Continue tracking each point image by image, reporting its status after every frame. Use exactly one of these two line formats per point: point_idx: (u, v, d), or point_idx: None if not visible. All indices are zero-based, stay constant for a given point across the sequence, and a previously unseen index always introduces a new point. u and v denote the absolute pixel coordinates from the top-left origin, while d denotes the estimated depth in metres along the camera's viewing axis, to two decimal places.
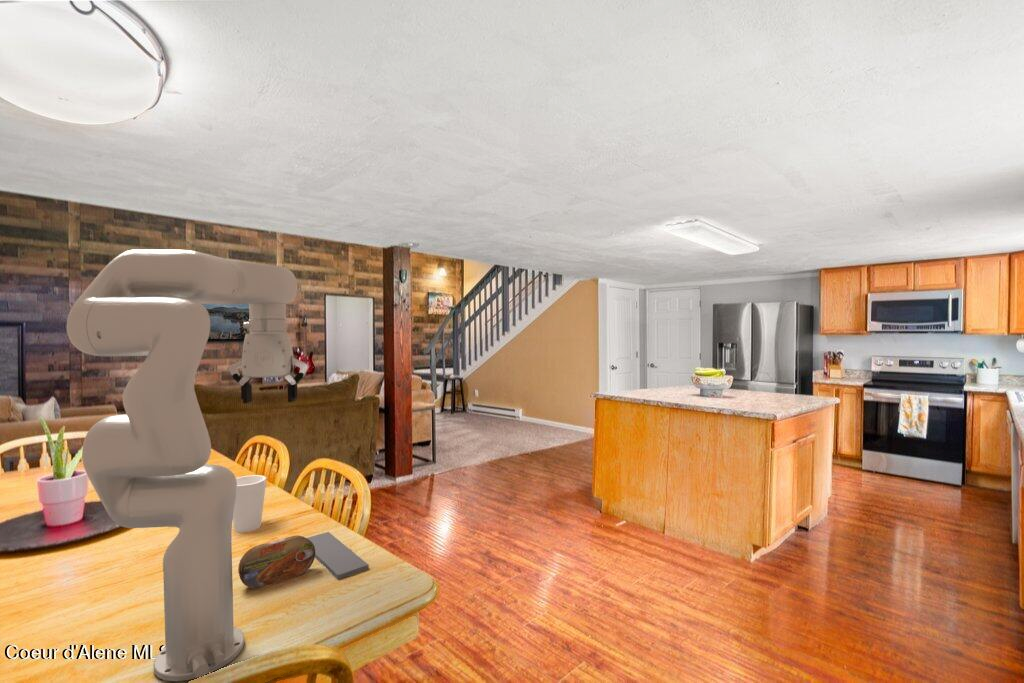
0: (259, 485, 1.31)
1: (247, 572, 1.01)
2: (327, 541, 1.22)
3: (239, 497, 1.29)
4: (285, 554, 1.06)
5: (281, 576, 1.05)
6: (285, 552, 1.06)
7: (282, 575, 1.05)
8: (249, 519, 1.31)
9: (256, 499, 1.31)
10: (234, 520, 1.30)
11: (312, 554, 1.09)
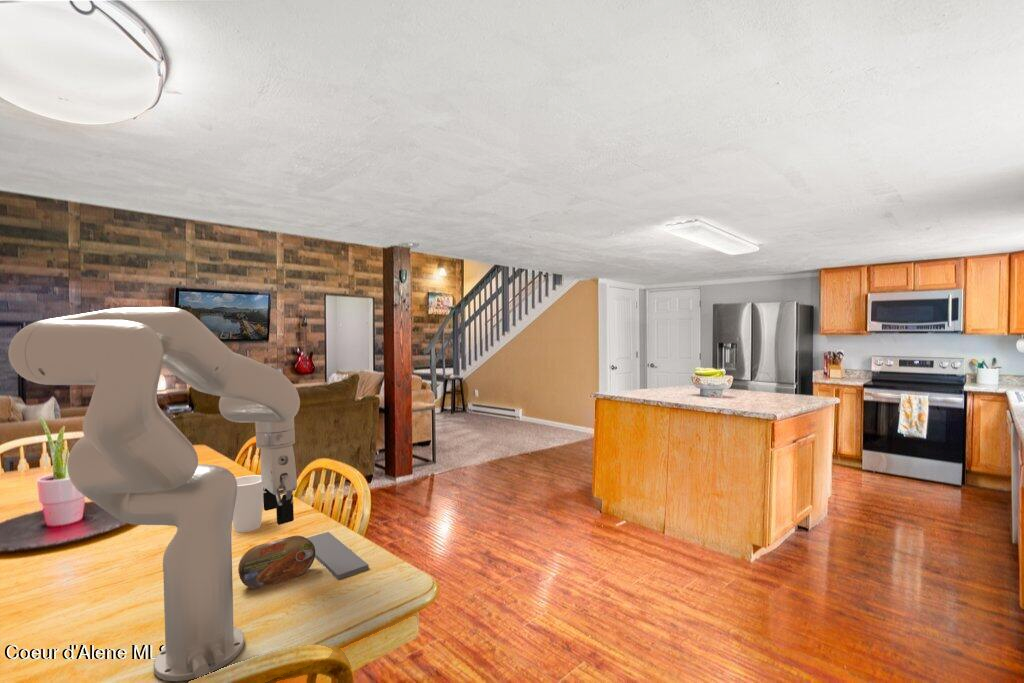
0: (259, 485, 1.31)
1: (247, 572, 1.01)
2: (327, 541, 1.22)
3: (239, 497, 1.29)
4: (285, 554, 1.06)
5: (281, 576, 1.05)
6: (285, 552, 1.06)
7: (282, 575, 1.05)
8: (249, 519, 1.31)
9: (256, 499, 1.31)
10: (234, 520, 1.30)
11: (312, 554, 1.09)
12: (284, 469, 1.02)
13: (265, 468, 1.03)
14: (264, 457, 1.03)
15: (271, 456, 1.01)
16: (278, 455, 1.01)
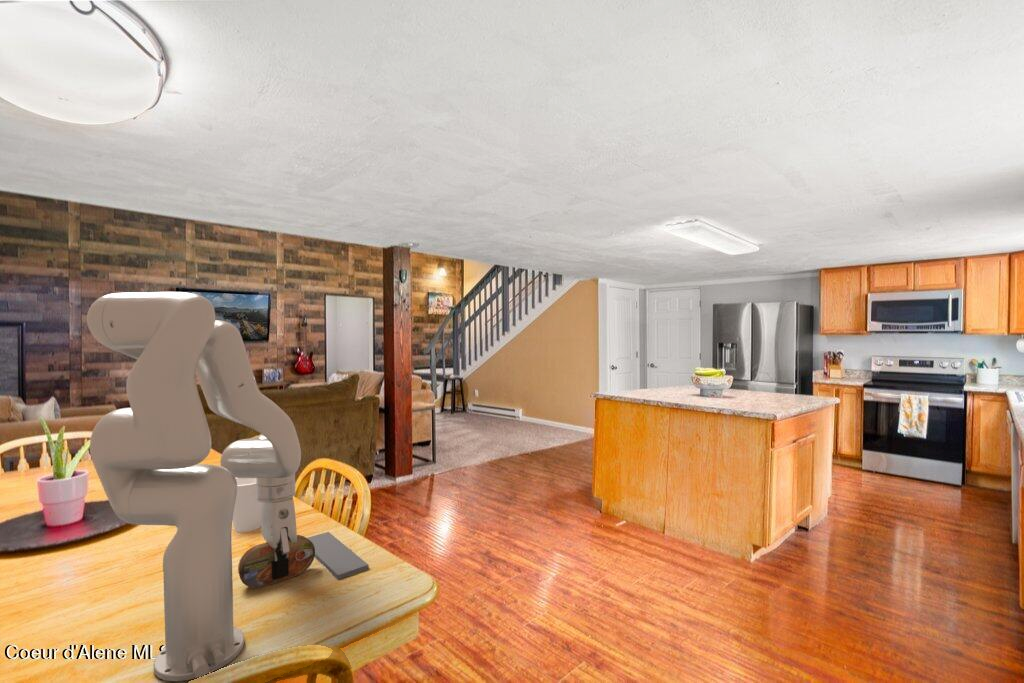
0: None
1: (247, 572, 1.01)
2: (327, 541, 1.22)
3: (239, 497, 1.29)
4: None
5: None
6: None
7: None
8: (249, 519, 1.31)
9: (256, 499, 1.31)
10: (234, 520, 1.30)
11: (312, 553, 1.09)
12: (284, 523, 1.02)
13: (265, 521, 1.03)
14: (264, 510, 1.03)
15: (271, 510, 1.01)
16: (278, 509, 1.01)
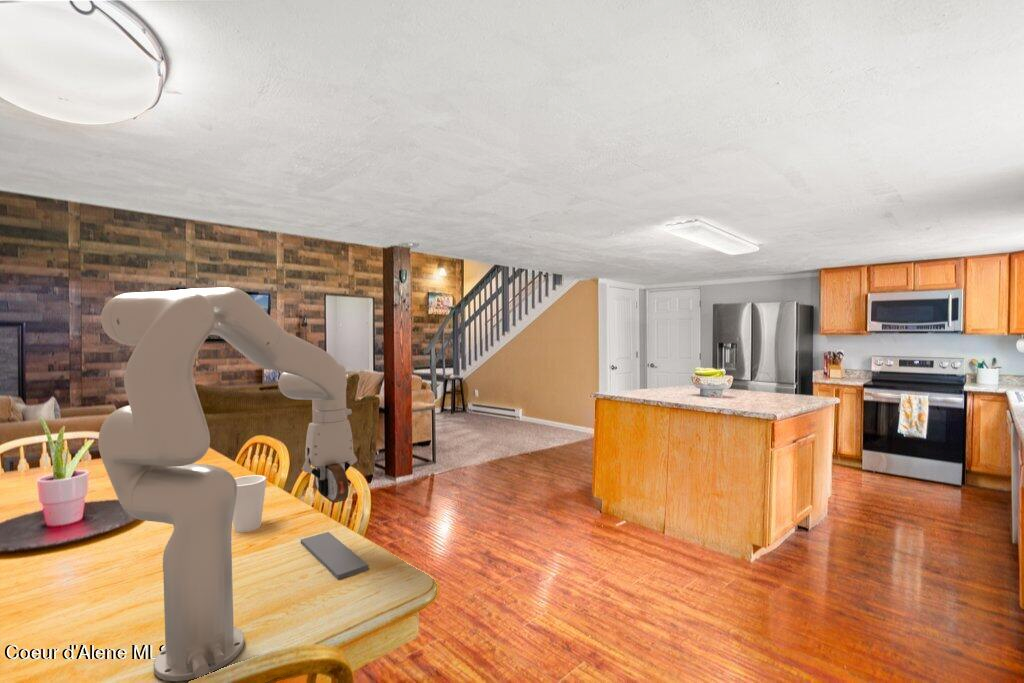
0: (259, 485, 1.31)
1: None
2: (327, 541, 1.22)
3: (239, 497, 1.29)
4: None
5: None
6: None
7: None
8: (249, 519, 1.31)
9: (256, 499, 1.31)
10: (234, 520, 1.30)
11: None
12: None
13: (338, 442, 1.15)
14: (336, 433, 1.14)
15: (349, 427, 1.17)
16: None
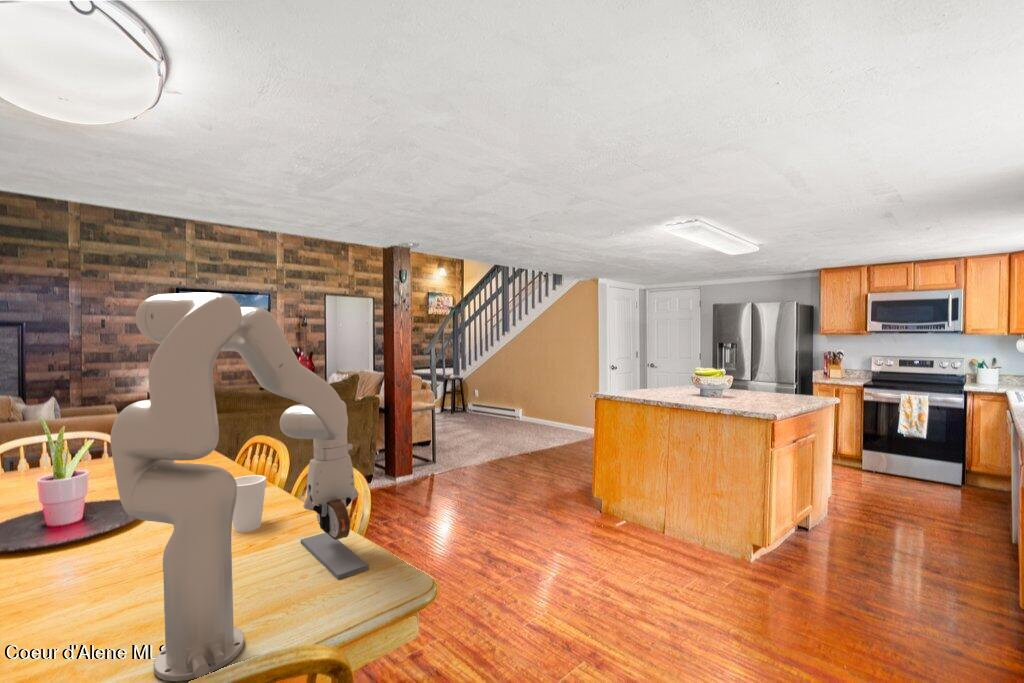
0: (259, 485, 1.31)
1: None
2: (327, 541, 1.22)
3: (239, 497, 1.29)
4: None
5: None
6: None
7: None
8: (249, 519, 1.31)
9: (256, 499, 1.31)
10: (234, 520, 1.30)
11: None
12: None
13: (339, 479, 1.15)
14: (338, 469, 1.15)
15: (350, 463, 1.17)
16: None
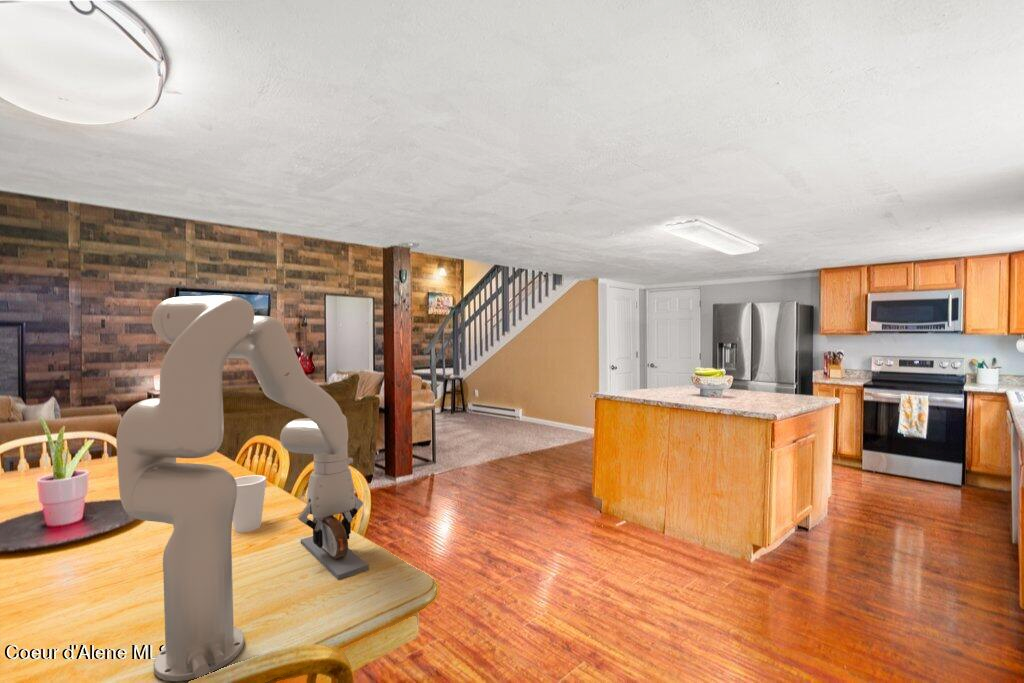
0: (259, 485, 1.31)
1: None
2: None
3: (239, 497, 1.29)
4: None
5: None
6: None
7: None
8: (249, 519, 1.31)
9: (256, 499, 1.31)
10: (234, 520, 1.30)
11: None
12: None
13: (339, 492, 1.15)
14: (338, 483, 1.15)
15: (350, 476, 1.17)
16: None
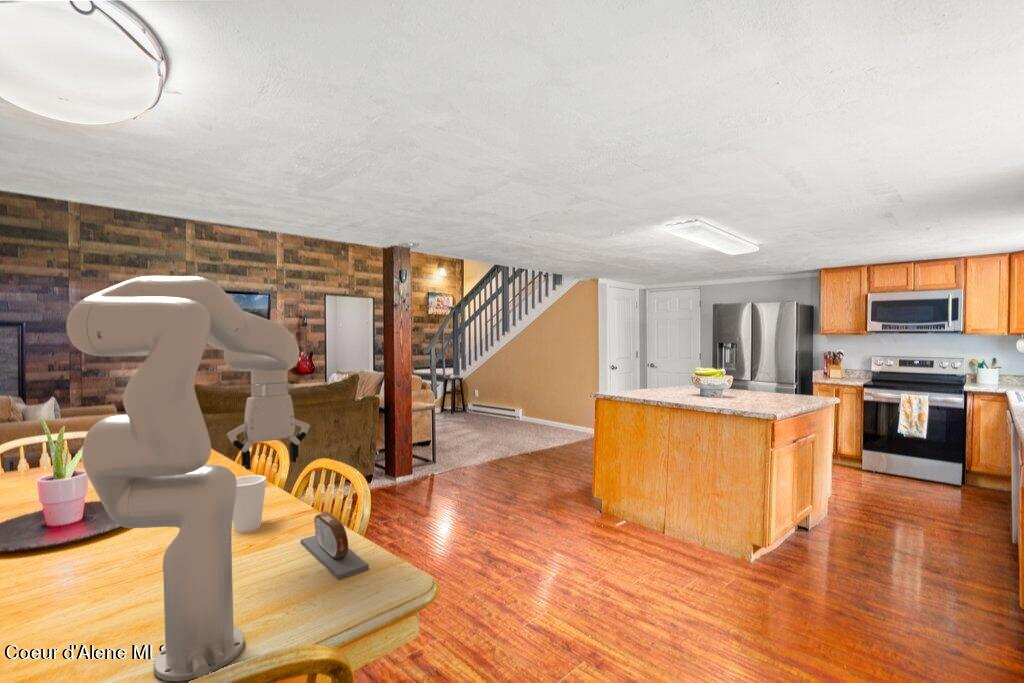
0: (259, 485, 1.31)
1: None
2: None
3: (239, 497, 1.29)
4: None
5: None
6: None
7: None
8: (249, 519, 1.31)
9: (256, 499, 1.31)
10: (234, 520, 1.30)
11: None
12: None
13: (277, 417, 1.12)
14: (275, 407, 1.11)
15: (290, 402, 1.14)
16: (291, 401, 1.15)
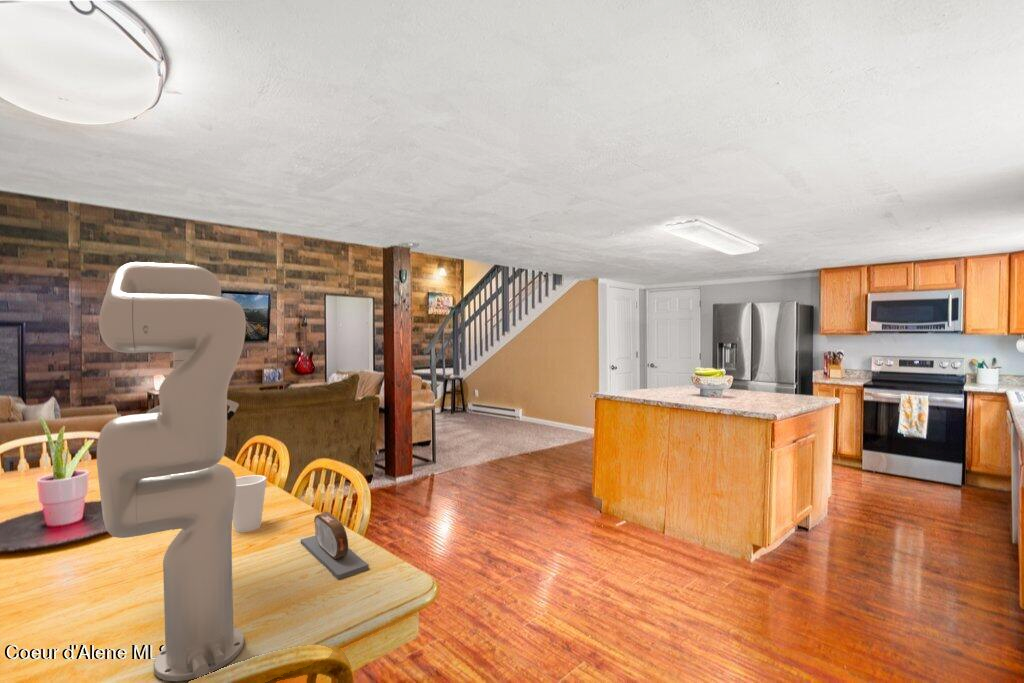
0: (259, 485, 1.31)
1: None
2: None
3: (239, 497, 1.29)
4: None
5: None
6: None
7: None
8: (249, 519, 1.31)
9: (256, 499, 1.31)
10: (234, 520, 1.30)
11: None
12: None
13: None
14: None
15: None
16: None
